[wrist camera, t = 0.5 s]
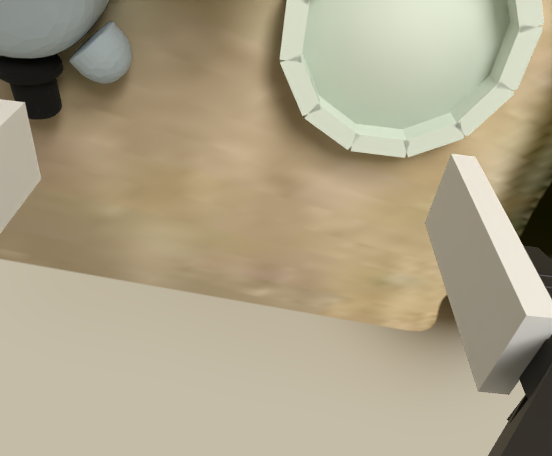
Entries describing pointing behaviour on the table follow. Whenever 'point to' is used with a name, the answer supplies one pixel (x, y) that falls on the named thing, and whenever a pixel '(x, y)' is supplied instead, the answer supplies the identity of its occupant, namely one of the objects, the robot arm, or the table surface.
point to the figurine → (56, 49)
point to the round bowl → (405, 67)
